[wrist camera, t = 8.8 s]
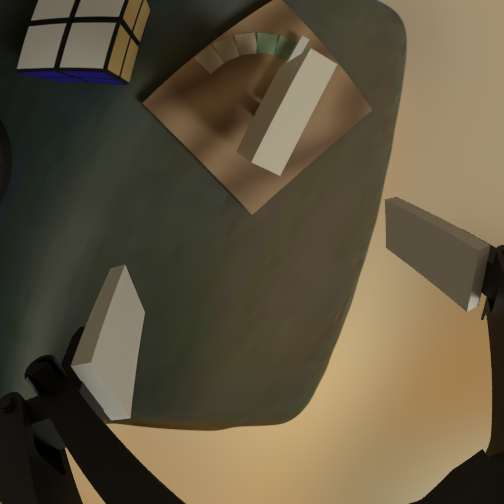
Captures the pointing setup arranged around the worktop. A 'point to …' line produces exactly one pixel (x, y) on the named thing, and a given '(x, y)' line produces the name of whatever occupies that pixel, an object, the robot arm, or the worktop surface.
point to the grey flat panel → (286, 108)
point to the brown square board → (251, 102)
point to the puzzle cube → (83, 40)
